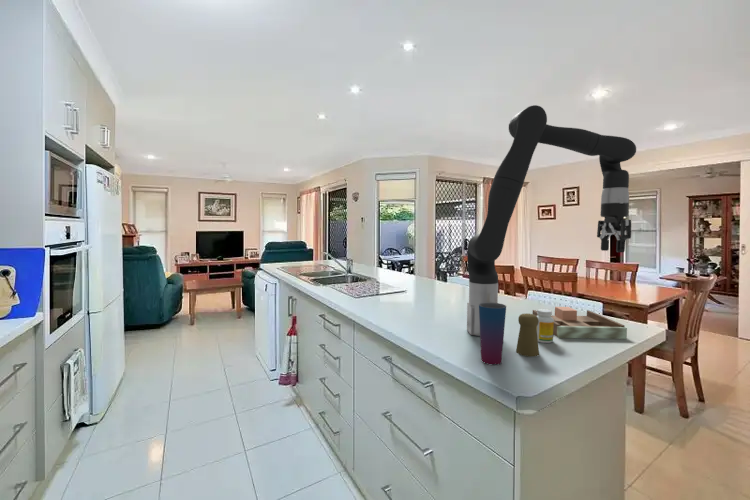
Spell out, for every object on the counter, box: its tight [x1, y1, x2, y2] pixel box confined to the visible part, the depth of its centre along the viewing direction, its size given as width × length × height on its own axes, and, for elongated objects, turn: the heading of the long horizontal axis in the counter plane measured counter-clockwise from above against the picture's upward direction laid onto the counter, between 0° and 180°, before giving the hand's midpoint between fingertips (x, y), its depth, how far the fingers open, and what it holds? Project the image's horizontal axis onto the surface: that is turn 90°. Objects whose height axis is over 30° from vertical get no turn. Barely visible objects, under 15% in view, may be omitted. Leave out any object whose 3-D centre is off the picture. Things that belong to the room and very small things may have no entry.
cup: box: [479, 302, 507, 365], centre depth 90 cm, size 7×7×15 cm
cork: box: [515, 313, 540, 358], centre depth 97 cm, size 6×6×11 cm
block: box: [554, 306, 578, 320], centre depth 127 cm, size 5×6×4 cm
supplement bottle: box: [536, 308, 554, 344], centre depth 107 cm, size 5×5×10 cm
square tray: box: [532, 309, 628, 340], centre depth 120 cm, size 21×21×4 cm
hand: (612, 251), depth 115 cm, fingers open, 8 cm apart
